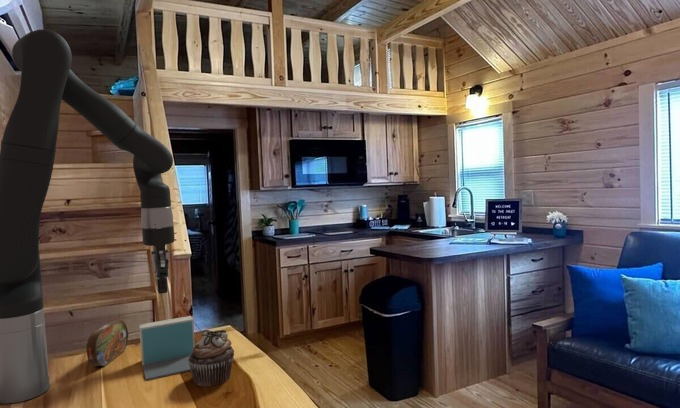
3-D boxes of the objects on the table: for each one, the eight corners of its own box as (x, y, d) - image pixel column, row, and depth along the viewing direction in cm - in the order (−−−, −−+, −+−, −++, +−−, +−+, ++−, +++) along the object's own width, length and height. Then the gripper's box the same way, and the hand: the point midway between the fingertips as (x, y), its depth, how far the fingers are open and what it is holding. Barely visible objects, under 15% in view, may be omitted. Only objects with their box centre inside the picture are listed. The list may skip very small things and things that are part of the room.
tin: (98, 372, 104) (96, 336, 103) (85, 372, 104) (82, 336, 103) (130, 347, 119) (128, 315, 118) (118, 347, 119) (116, 316, 118)
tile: (142, 366, 106) (140, 328, 106) (141, 360, 110) (139, 324, 109) (195, 355, 112) (193, 319, 111) (193, 350, 115) (191, 315, 114)
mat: (145, 380, 98) (145, 378, 98) (142, 366, 106) (142, 365, 106) (202, 368, 104) (202, 366, 104) (195, 355, 111) (195, 354, 111)
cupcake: (193, 370, 103) (191, 327, 102) (237, 366, 104) (235, 324, 103) (184, 390, 93) (181, 342, 92) (232, 385, 94) (230, 338, 94)
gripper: (139, 224, 119) (144, 289, 120) (143, 228, 107) (149, 301, 108) (170, 222, 122) (174, 285, 123) (176, 225, 110) (181, 295, 111)
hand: (162, 292), depth 116 cm, fingers closed
